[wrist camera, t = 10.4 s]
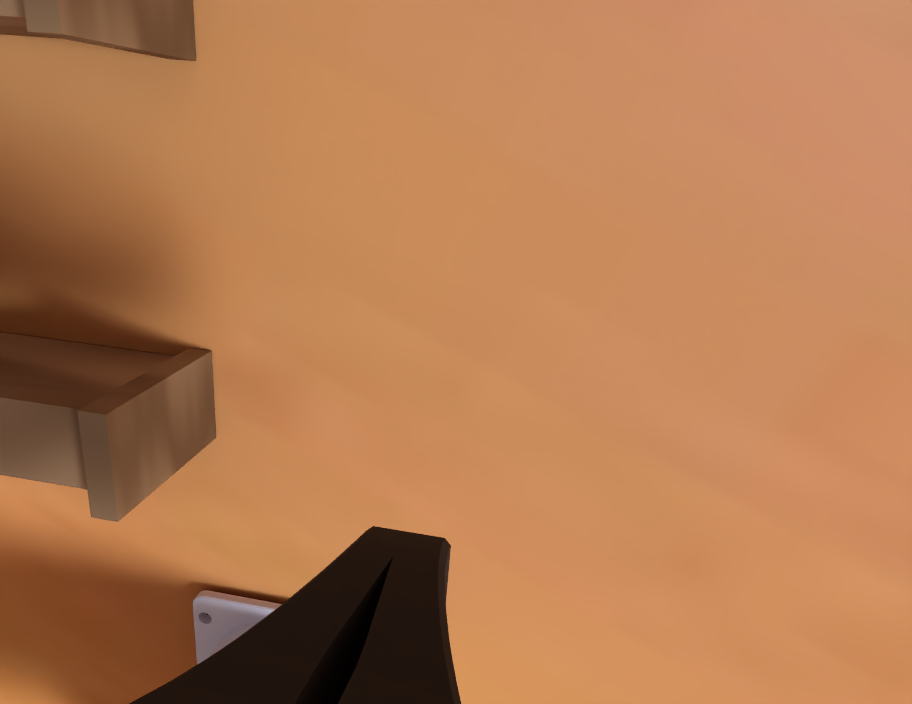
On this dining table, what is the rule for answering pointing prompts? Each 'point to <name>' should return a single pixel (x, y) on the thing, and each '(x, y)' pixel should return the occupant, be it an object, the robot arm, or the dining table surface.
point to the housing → (92, 366)
